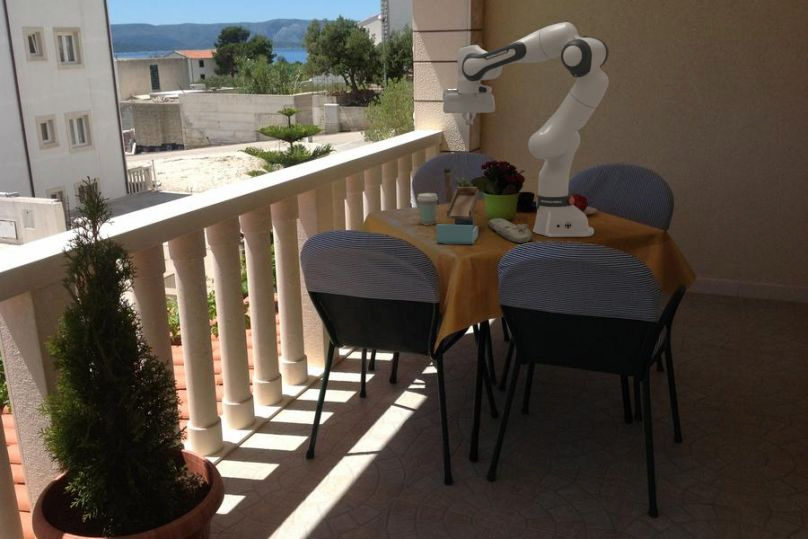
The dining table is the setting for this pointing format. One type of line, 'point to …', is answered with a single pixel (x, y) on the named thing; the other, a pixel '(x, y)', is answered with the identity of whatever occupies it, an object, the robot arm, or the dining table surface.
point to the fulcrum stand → (465, 221)
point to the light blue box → (456, 234)
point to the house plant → (462, 183)
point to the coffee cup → (427, 207)
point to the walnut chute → (460, 199)
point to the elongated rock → (511, 230)
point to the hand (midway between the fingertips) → (469, 124)
